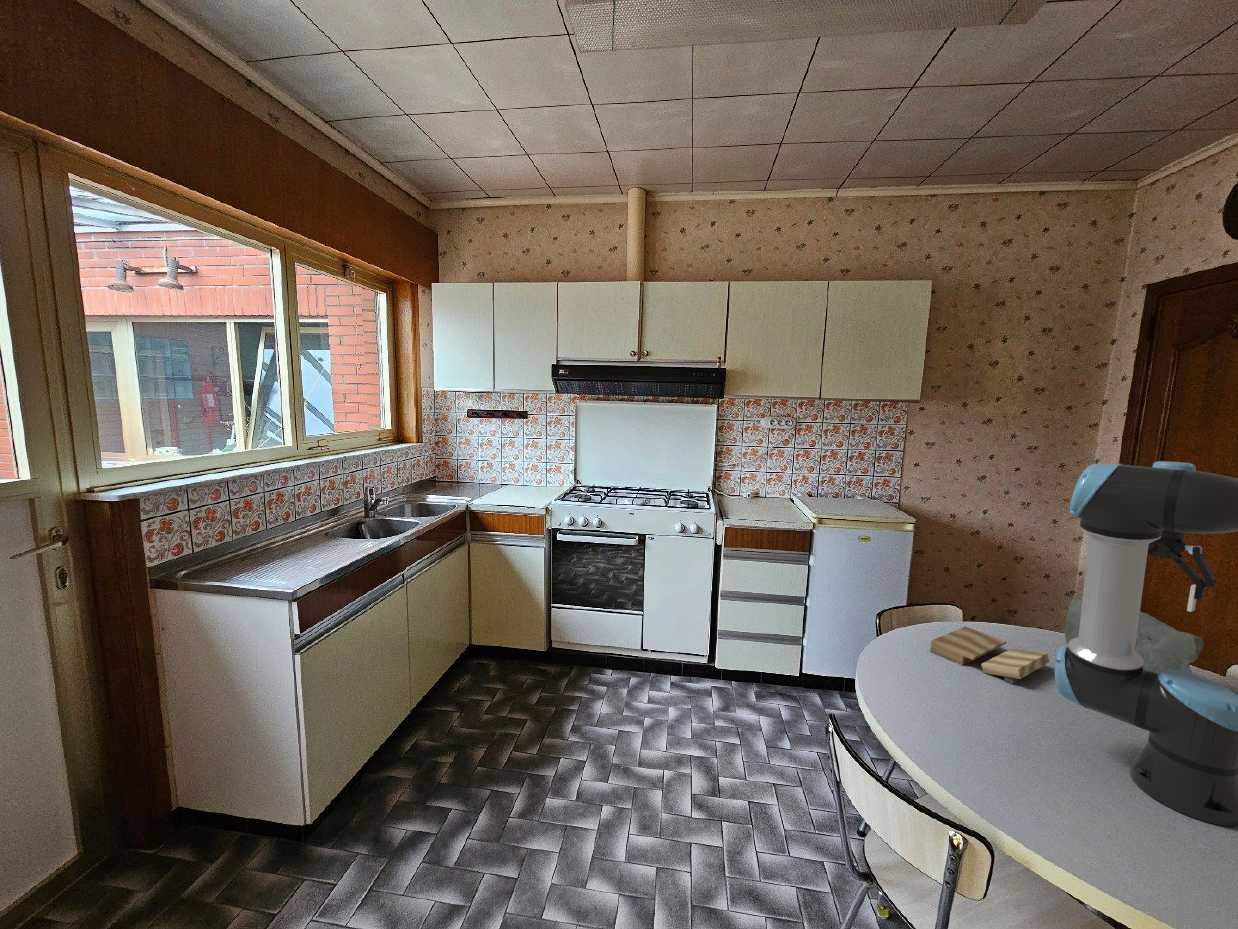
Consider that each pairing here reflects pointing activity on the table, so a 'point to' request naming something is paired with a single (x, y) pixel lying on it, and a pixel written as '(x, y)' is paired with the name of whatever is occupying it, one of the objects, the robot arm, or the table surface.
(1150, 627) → the rock
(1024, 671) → the plank
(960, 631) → the board
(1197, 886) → the table surface
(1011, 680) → the spacers
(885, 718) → the table surface
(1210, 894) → the table surface
